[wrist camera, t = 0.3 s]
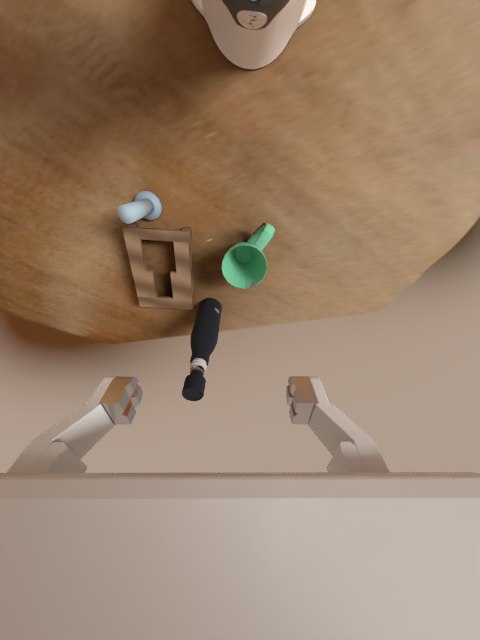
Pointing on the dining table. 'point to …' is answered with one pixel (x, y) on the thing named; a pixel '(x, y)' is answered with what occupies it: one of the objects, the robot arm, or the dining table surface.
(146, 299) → the keyhole board
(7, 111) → the dining table surface
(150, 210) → the peg
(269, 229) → the mug
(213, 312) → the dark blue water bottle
